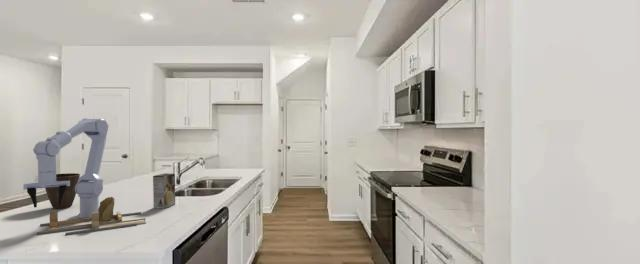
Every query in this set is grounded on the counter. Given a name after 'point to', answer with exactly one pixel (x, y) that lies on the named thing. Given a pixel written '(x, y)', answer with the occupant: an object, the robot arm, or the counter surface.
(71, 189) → the plant pot
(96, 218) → the maple strip
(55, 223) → the oak sled
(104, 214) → the rock
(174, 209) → the counter surface
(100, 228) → the rails
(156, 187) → the coffee box
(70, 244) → the counter surface
